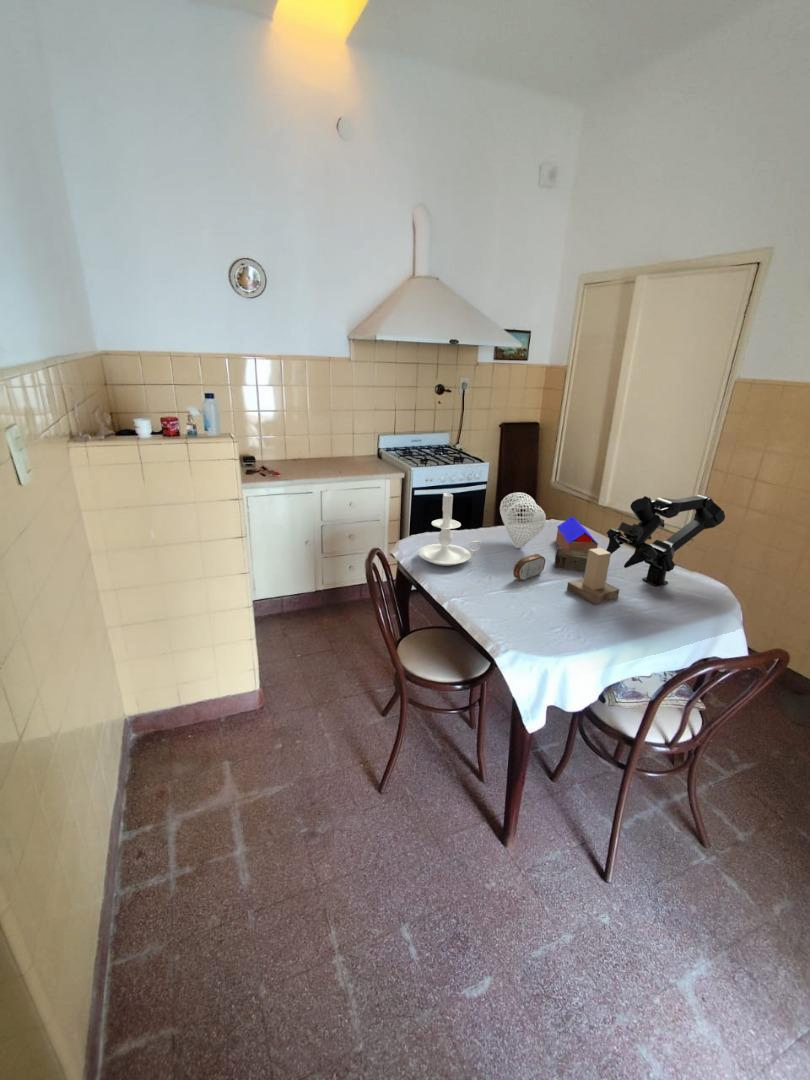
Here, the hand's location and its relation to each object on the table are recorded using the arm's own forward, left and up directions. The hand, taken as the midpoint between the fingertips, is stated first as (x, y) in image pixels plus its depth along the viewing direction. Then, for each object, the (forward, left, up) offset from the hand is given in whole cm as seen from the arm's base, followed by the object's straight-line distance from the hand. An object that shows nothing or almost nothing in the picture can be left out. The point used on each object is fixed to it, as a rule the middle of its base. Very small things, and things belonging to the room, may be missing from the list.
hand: (614, 561), depth 170 cm
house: (-19, -33, -11) cm, 40 cm away
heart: (+2, -45, -11) cm, 46 cm away
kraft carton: (+8, -1, -8) cm, 11 cm away
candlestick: (+37, -47, -11) cm, 60 cm away
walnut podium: (+7, -1, -11) cm, 13 cm away
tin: (+18, -21, -11) cm, 30 cm away
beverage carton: (-6, -18, -11) cm, 22 cm away
